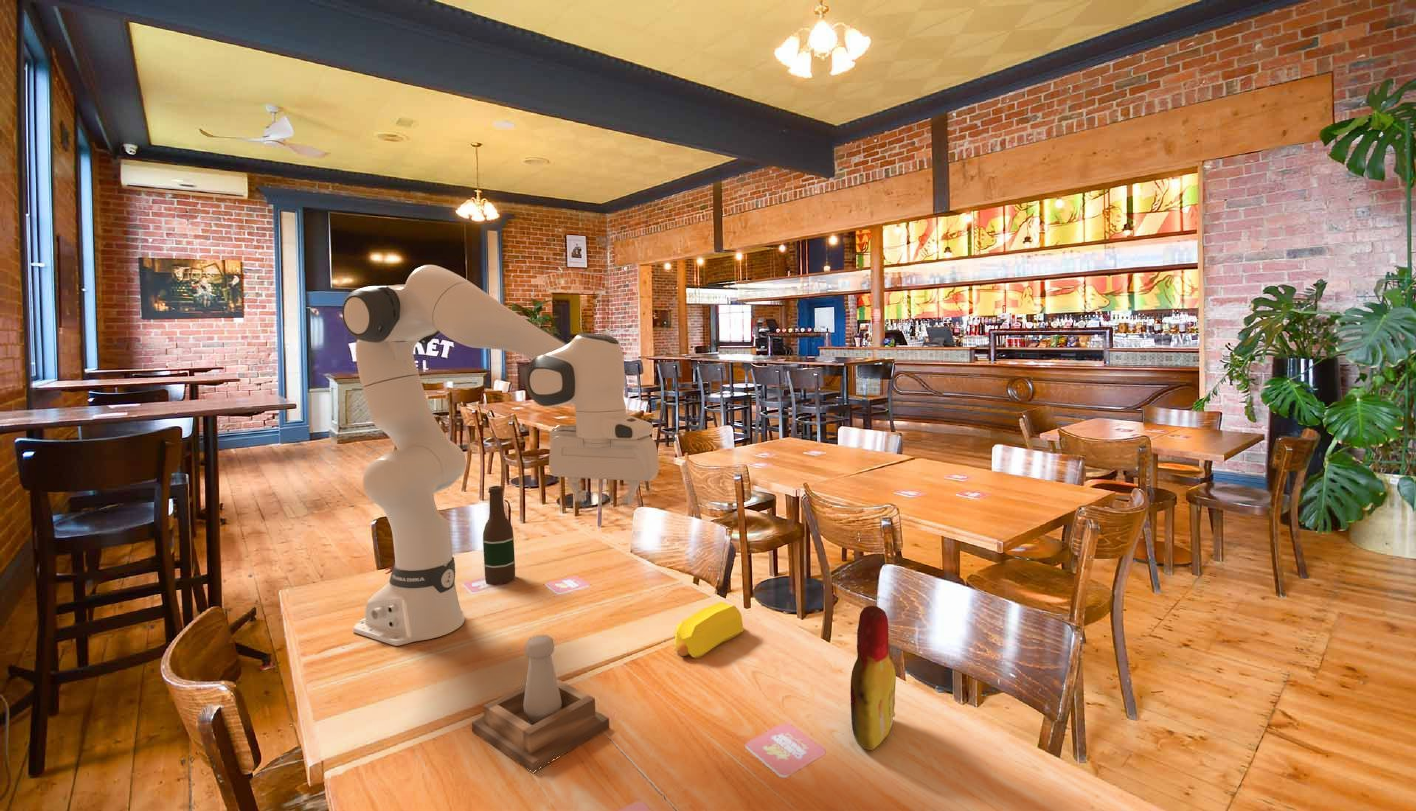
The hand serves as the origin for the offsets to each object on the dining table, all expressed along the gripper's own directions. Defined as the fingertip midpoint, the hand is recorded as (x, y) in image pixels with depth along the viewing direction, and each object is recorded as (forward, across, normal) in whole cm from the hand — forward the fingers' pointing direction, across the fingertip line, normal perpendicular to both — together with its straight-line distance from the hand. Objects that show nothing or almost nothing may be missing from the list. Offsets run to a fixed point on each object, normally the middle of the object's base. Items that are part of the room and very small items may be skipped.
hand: (604, 502), depth 119 cm
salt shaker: (+30, -2, -20) cm, 36 cm away
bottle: (+31, +47, -7) cm, 57 cm away
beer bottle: (+31, -48, +34) cm, 67 cm away
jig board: (+31, -2, -20) cm, 37 cm away
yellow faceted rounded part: (+32, +14, +15) cm, 38 cm away
